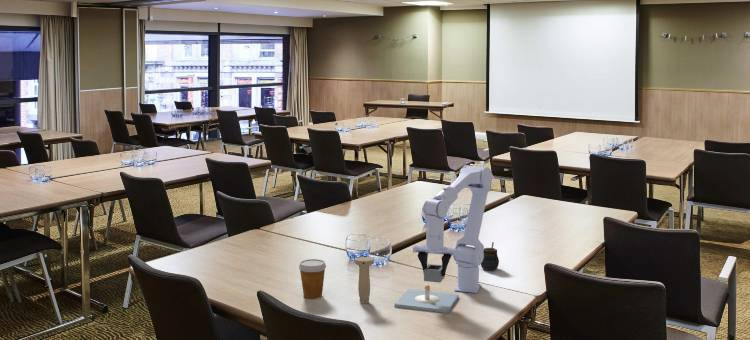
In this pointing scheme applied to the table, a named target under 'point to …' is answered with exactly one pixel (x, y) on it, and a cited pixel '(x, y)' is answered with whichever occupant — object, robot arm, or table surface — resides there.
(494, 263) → the mate gourd
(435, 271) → the hollow square tube
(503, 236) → the table surface
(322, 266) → the disposable coffee cup
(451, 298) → the board
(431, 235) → the robot arm
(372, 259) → the handle
